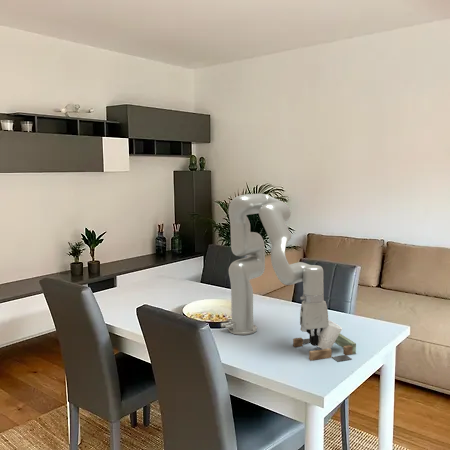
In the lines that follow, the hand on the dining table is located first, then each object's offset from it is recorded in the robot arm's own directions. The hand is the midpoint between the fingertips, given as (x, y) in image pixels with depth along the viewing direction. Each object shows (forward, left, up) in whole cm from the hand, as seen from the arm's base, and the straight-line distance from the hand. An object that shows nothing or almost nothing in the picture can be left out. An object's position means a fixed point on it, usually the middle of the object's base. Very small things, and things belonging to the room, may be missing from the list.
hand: (314, 344), depth 177 cm
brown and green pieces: (+4, +1, -3) cm, 6 cm away
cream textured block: (+4, +1, -2) cm, 4 cm away
